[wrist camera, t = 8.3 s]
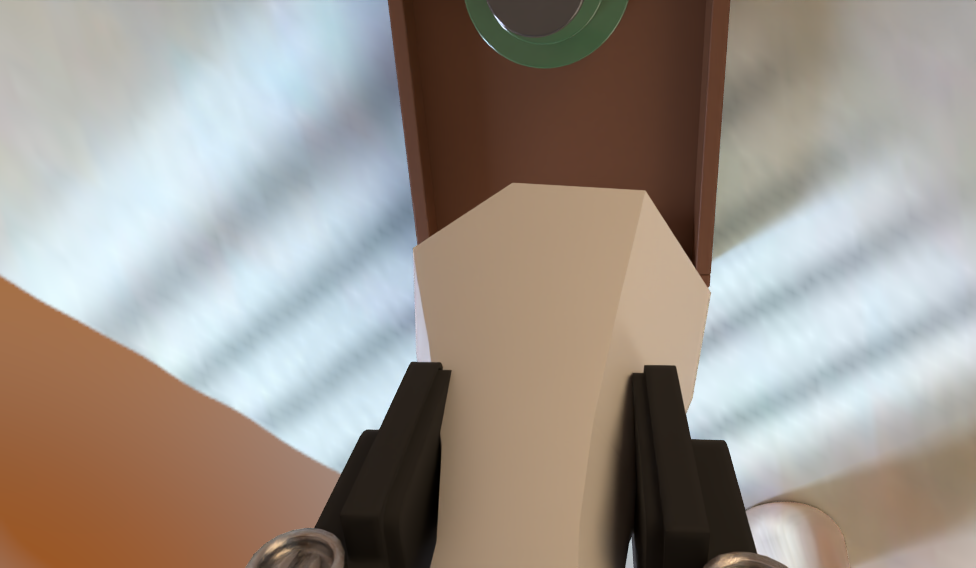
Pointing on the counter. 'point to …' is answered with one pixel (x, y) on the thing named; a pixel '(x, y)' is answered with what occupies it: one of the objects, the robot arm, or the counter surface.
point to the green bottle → (545, 28)
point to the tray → (566, 114)
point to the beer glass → (797, 535)
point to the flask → (549, 368)
